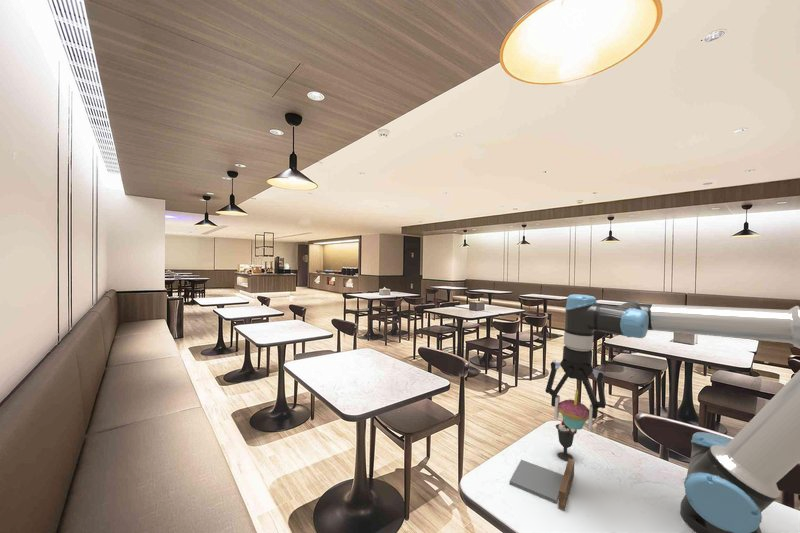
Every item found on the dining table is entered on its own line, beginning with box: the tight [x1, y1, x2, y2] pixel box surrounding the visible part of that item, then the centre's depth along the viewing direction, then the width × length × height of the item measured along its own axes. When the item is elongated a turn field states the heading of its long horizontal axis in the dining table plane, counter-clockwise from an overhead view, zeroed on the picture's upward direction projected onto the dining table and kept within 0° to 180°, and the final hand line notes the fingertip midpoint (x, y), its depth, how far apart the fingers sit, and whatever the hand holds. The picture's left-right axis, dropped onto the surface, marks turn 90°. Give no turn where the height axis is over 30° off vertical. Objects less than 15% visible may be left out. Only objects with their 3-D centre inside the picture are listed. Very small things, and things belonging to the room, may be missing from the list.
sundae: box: [555, 418, 578, 462], centre depth 111 cm, size 7×7×15 cm
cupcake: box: [558, 388, 589, 431], centre depth 95 cm, size 9×8×12 cm
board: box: [509, 459, 564, 505], centre depth 99 cm, size 13×13×1 cm
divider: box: [557, 458, 575, 512], centre depth 95 cm, size 2×18×5 cm, turn 144°
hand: (572, 422), depth 95 cm, fingers closed on cupcake, 8 cm apart
